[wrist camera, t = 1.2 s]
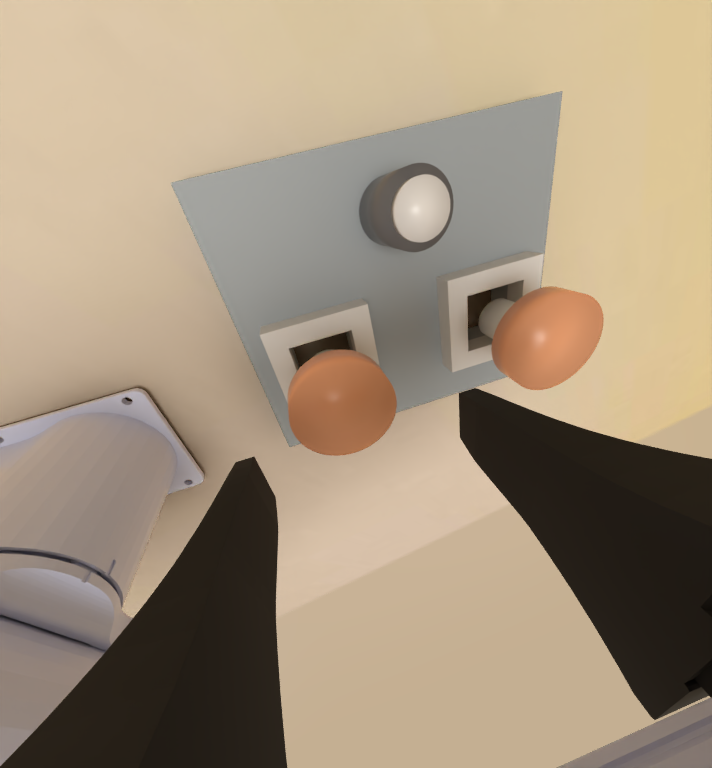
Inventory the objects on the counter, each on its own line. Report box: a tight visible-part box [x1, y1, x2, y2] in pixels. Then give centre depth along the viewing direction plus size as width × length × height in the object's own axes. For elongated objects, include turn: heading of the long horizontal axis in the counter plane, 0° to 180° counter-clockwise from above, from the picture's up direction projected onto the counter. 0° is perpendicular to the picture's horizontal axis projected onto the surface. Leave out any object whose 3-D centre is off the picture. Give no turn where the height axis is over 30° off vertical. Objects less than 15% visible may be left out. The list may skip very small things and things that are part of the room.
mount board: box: [171, 91, 562, 447], centre depth 17 cm, size 18×15×3 cm
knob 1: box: [288, 349, 397, 455], centre depth 14 cm, size 5×5×4 cm
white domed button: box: [359, 163, 454, 252], centre depth 13 cm, size 3×3×4 cm
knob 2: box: [479, 287, 603, 390], centre depth 15 cm, size 5×5×4 cm
